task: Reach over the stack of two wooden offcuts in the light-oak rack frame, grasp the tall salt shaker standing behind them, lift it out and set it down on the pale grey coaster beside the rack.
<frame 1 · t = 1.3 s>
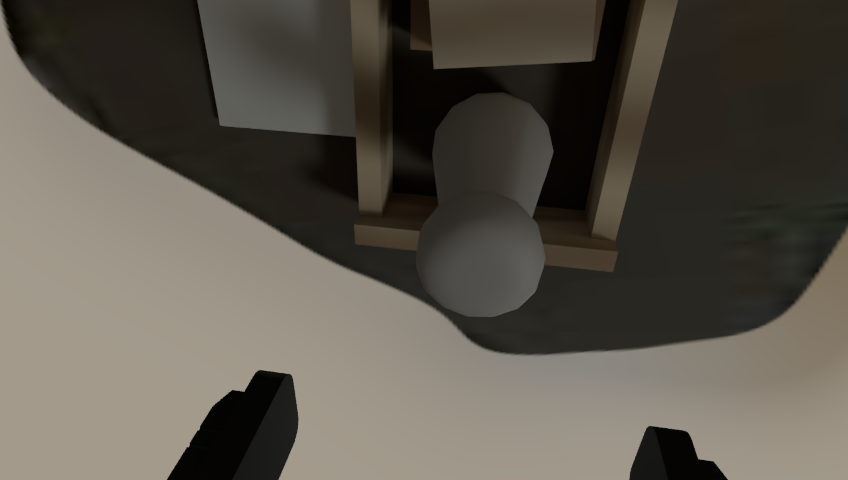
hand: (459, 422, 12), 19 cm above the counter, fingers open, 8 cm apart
coaster: (285, 52, 27), on the counter
rack: (493, 135, 28), on the counter
salt shaker: (493, 133, 28), resting in rack
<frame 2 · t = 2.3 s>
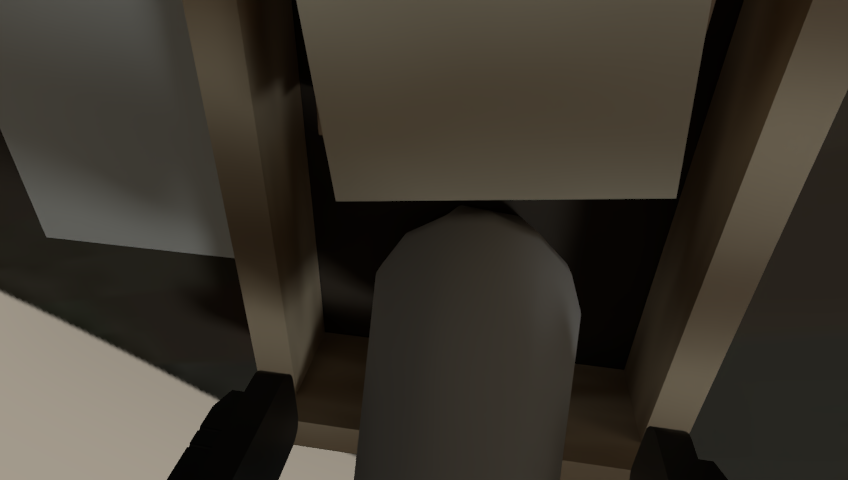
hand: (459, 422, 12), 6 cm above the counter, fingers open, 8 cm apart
coaster: (131, 130, 16), on the counter
rack: (478, 261, 17), on the counter
offcut top: (500, 46, 11), point 3 cm above the counter
salt shaker: (478, 258, 17), resting in rack
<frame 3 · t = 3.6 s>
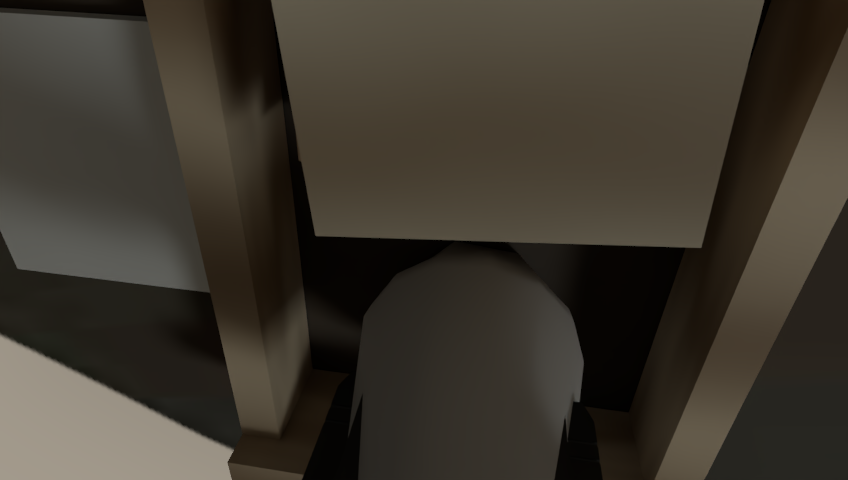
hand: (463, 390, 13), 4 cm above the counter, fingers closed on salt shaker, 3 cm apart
coaster: (106, 159, 15), on the counter
rack: (474, 299, 16), on the counter
offcut top: (504, 65, 10), point 3 cm above the counter, touching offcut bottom
salt shaker: (474, 295, 16), resting in rack, touching gripper
when the fingers open (6 cm above the counter, at t = 9.5 s): salt shaker drops 1 cm, resting on coaster.
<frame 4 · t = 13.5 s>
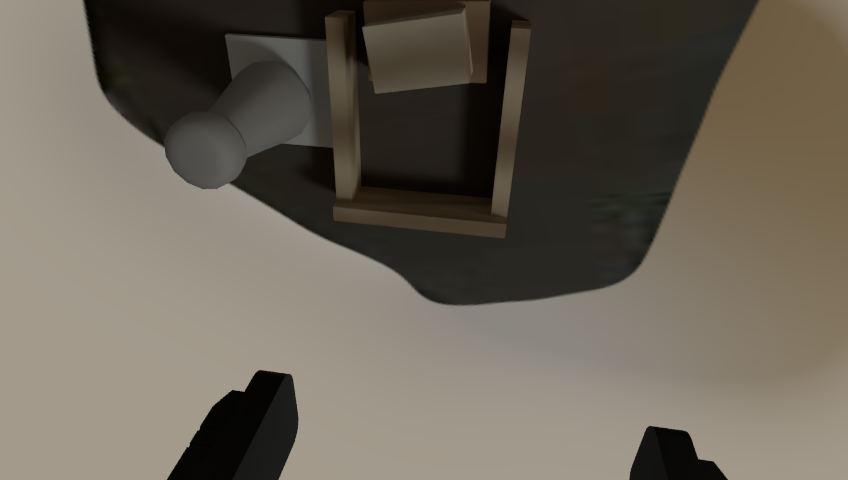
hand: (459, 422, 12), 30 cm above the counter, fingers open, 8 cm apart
coaster: (286, 91, 40), on the counter
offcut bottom: (432, 34, 37), on the counter, touching offcut top
rack: (427, 147, 41), on the counter
offcut top: (423, 45, 34), point 3 cm above the counter, touching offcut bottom
salt shaker: (284, 92, 40), resting on coaster
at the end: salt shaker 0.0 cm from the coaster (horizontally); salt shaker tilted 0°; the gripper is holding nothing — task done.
